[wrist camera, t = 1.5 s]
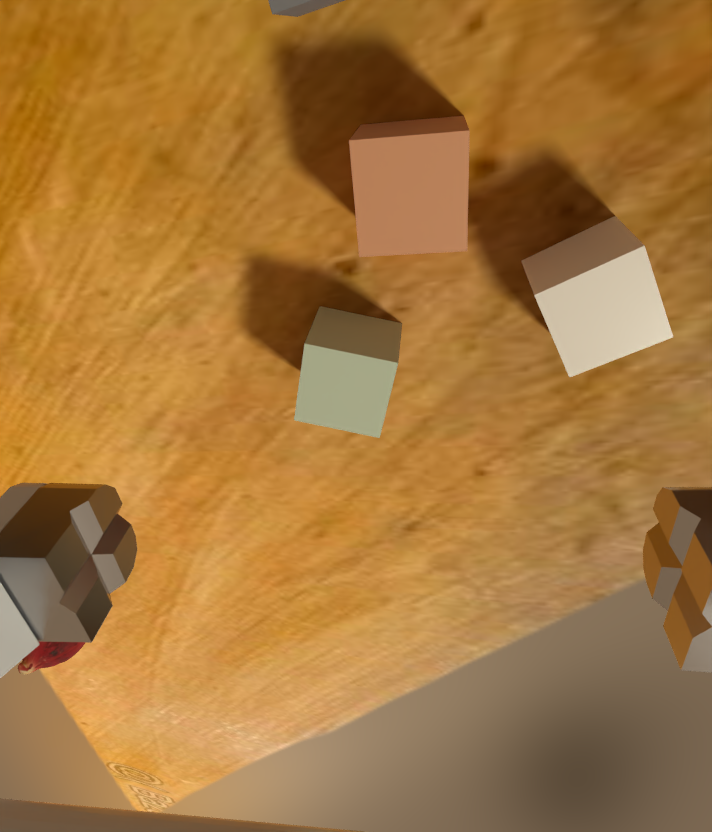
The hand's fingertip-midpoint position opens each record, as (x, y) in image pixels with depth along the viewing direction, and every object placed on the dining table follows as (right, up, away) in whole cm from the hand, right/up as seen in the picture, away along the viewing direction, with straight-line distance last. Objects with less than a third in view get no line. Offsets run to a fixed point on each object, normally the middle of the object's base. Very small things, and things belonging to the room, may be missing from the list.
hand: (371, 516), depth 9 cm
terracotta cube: (+3, +14, +20) cm, 25 cm away
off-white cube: (+12, +9, +22) cm, 27 cm away
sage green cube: (0, +6, +26) cm, 27 cm away
